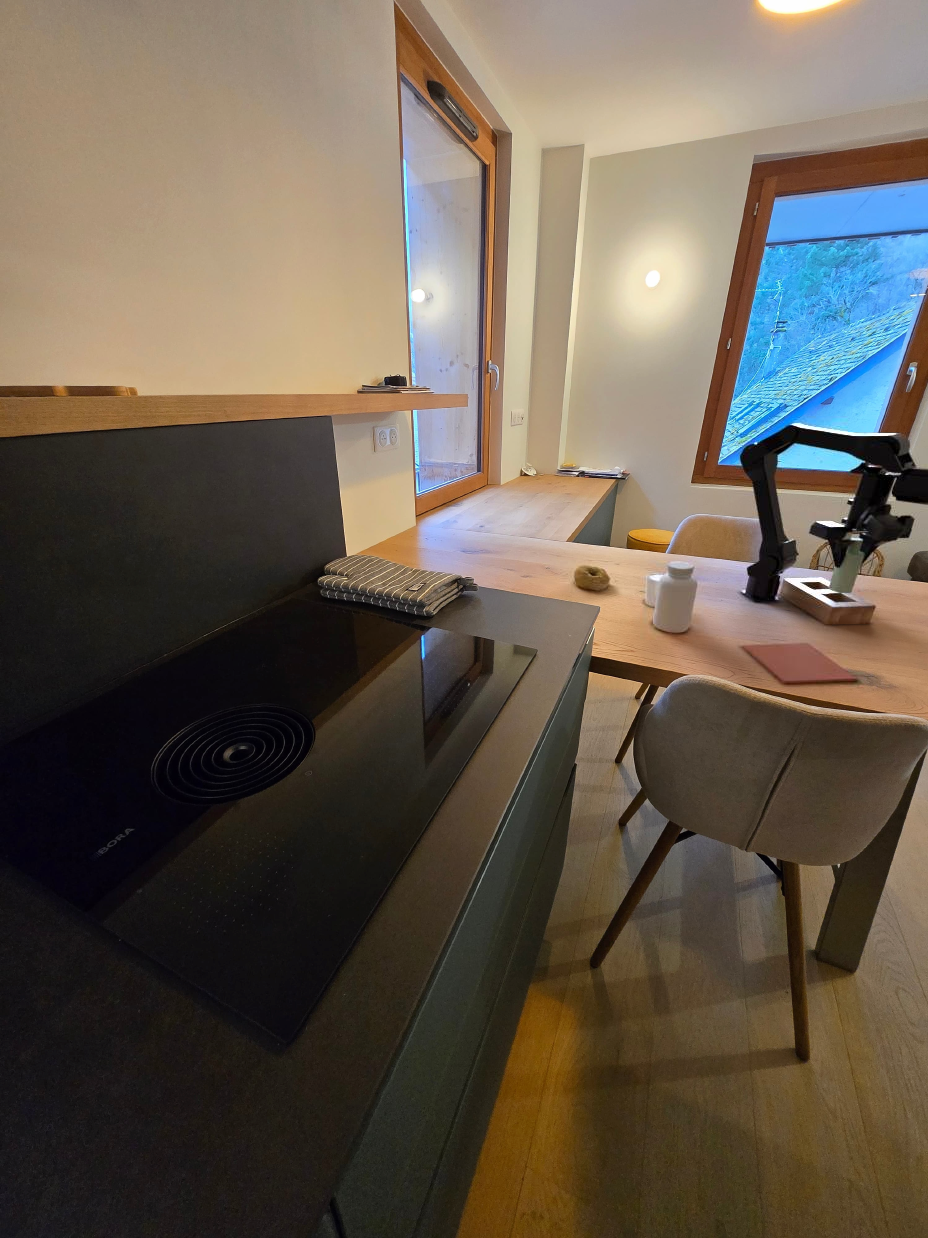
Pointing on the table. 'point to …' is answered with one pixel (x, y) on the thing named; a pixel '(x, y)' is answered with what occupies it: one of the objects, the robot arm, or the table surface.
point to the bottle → (848, 569)
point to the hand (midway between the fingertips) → (847, 566)
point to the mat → (798, 663)
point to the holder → (826, 601)
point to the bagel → (591, 577)
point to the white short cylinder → (652, 588)
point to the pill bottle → (675, 598)
